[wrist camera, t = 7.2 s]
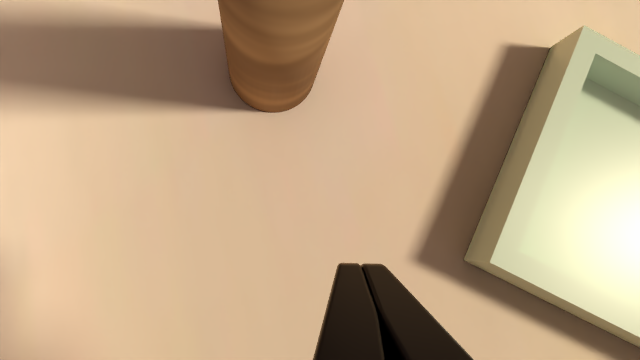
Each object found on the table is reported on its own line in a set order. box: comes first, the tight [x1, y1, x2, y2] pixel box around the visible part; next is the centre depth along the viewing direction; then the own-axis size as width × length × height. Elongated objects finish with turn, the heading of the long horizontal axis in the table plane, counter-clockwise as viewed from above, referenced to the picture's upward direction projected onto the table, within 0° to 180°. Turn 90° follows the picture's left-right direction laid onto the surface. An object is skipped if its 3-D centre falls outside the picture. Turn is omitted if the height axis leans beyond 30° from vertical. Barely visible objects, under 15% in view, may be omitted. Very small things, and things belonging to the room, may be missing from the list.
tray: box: [464, 25, 640, 348], centre depth 22 cm, size 12×12×2 cm
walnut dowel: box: [218, 0, 344, 112], centre depth 16 cm, size 4×4×12 cm
